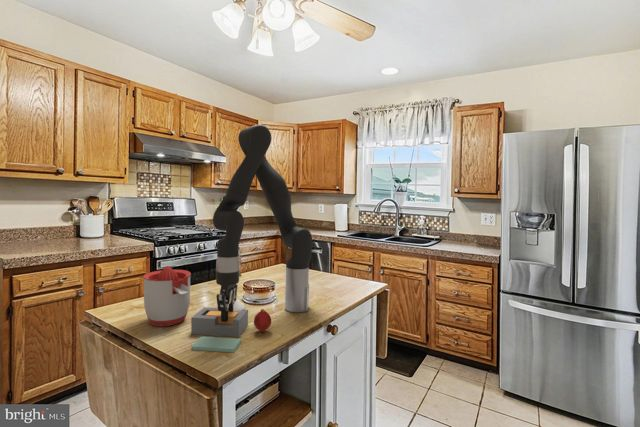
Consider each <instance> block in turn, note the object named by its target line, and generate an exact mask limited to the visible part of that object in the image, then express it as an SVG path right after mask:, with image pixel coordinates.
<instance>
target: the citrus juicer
mask: <svg viewBox="0 0 640 427" xmlns="http://www.w3.org/2000/svg"><path fill="white" fill-rule="evenodd" d="M191 275H192V273H191V272H190V271H188V270H187V269H186V270H185V269H173V268H172V267H171V266H168V265H166V266H165V267H164V268H162V270H160V269H159V270H156V271H151V272H147V273H145V274H144V275H143V276H142V278H143V303H144V304H143V305H144V310H145V314H146V318H147V320H148V322H149V324H150V325H152V326H154V327H155V326H156V327H163V328H164V327H165V328H167V327H169V326H173V325H177V324H179V323H182V322H183V321H184V320H185V319H186V317H187V316H188V312H189V308H190V302H191Z"/></svg>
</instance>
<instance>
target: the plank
mask: <svg viewBox="0 0 640 427" xmlns="http://www.w3.org/2000/svg"><path fill="white" fill-rule="evenodd" d="M206 315H207V316H218V323H228V324H233V320H234V318H235V317H236V316H237V315H238V312H228V321H227V322H222V321H221V311H209V312H208V313H207V314H206Z"/></svg>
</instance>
